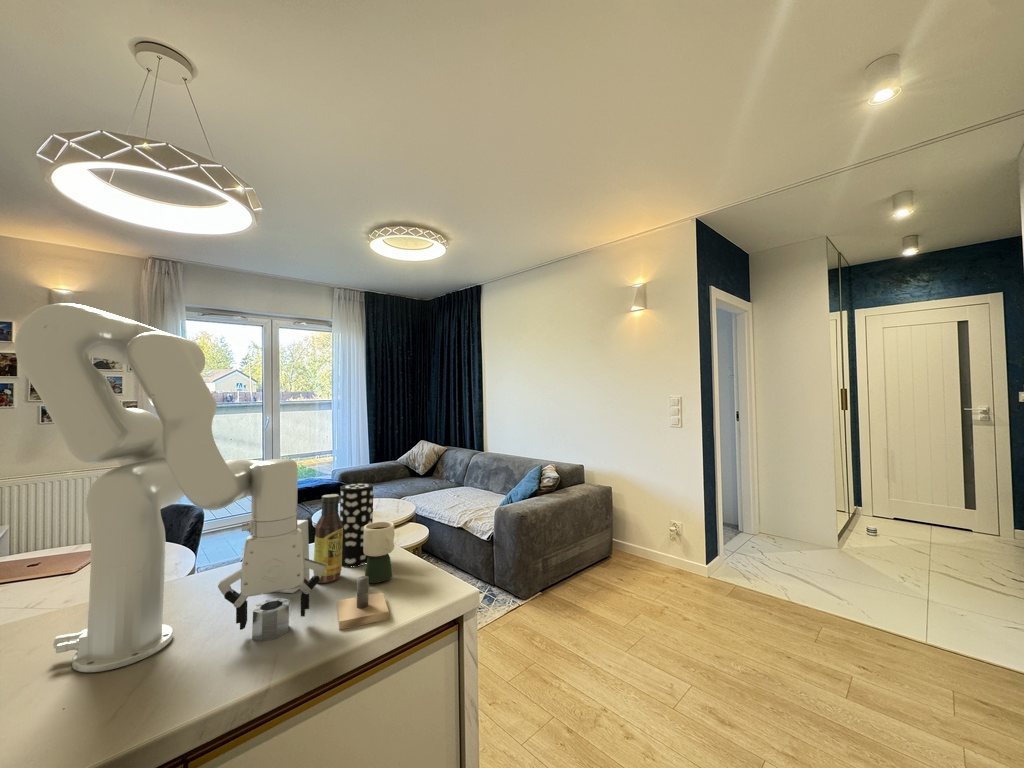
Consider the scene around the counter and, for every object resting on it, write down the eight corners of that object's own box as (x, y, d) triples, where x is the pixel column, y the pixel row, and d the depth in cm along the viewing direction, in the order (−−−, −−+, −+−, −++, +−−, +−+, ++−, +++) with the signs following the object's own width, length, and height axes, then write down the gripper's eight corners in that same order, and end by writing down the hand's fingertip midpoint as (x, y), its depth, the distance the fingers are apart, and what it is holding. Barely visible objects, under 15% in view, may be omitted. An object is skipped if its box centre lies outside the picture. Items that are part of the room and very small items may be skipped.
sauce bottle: (330, 585, 96) (332, 499, 97) (307, 583, 97) (309, 498, 98) (347, 574, 102) (349, 493, 103) (324, 572, 103) (326, 492, 104)
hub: (250, 643, 73) (251, 615, 73) (255, 627, 78) (255, 601, 78) (287, 636, 75) (287, 609, 75) (289, 621, 80) (289, 596, 80)
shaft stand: (339, 629, 77) (339, 591, 78) (337, 608, 85) (337, 573, 86) (388, 619, 81) (389, 582, 81) (382, 599, 89) (382, 566, 90)
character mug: (404, 581, 98) (405, 526, 99) (378, 592, 93) (379, 533, 93) (378, 569, 105) (379, 518, 106) (352, 579, 100) (353, 524, 100)
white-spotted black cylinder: (377, 561, 111) (378, 486, 112) (347, 570, 105) (349, 490, 106) (363, 553, 117) (364, 482, 118) (333, 561, 111) (335, 486, 112)
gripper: (214, 539, 70) (213, 642, 70) (325, 524, 78) (325, 617, 77) (223, 527, 77) (222, 621, 76) (325, 515, 84) (324, 600, 84)
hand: (274, 619), depth 77 cm, fingers open, 9 cm apart
